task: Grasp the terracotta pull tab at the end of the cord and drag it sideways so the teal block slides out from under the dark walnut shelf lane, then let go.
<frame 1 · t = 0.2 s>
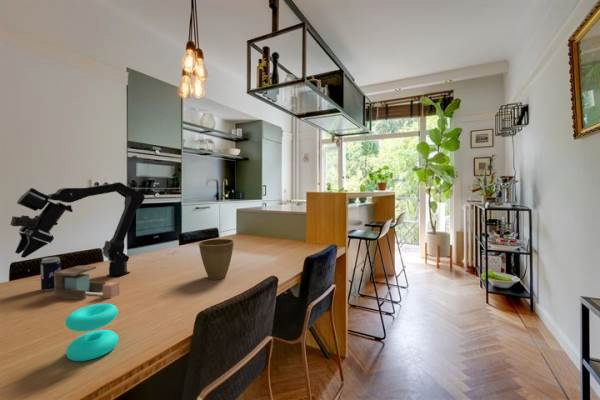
hand: (19, 255, 97), 15 cm above the table, tool tilted 30°, fingers open, 9 cm apart
shelf lane: (77, 293, 101), on the table
plant pot: (216, 277, 121), on the table
tethered block: (77, 293, 101), on the table
beverage can: (51, 289, 105), on the table
donuts: (93, 351, 65), on the table
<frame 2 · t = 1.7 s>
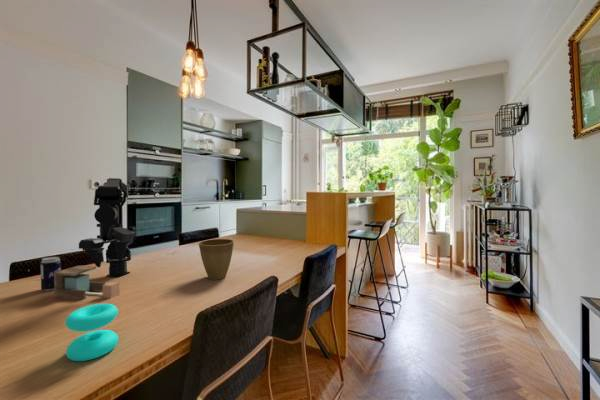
hand: (110, 263, 98), 12 cm above the table, tool pointing down, fingers open, 9 cm apart
nothing on the table moved.
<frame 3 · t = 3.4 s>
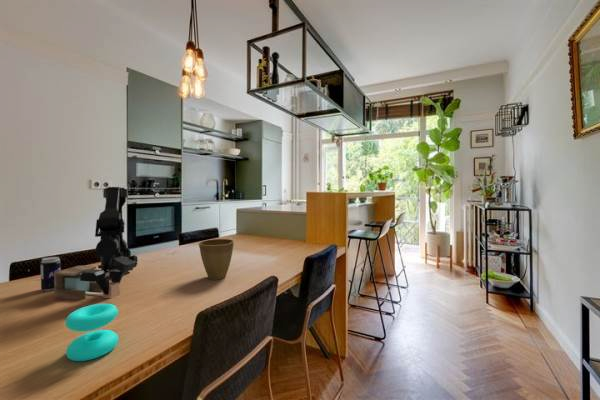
hand: (111, 292, 99), 1 cm above the table, tool pointing down, fingers closed on tethered block, 3 cm apart
tethered block: (77, 293, 101), on the table, touching gripper
everything else where it was.
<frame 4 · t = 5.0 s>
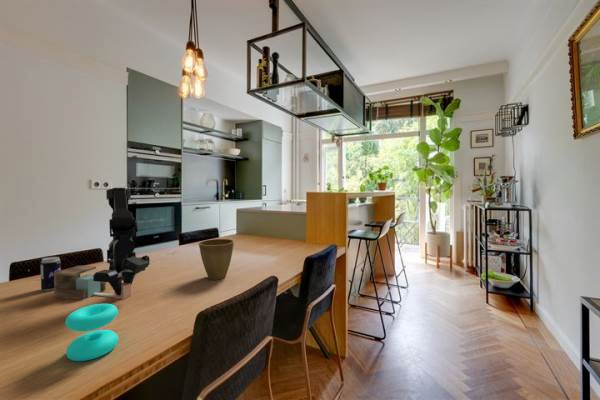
hand: (123, 293, 98), 1 cm above the table, tool pointing down, fingers closed on tethered block, 3 cm apart
tethered block: (88, 294, 100), on the table, touching gripper
everything else where it was.
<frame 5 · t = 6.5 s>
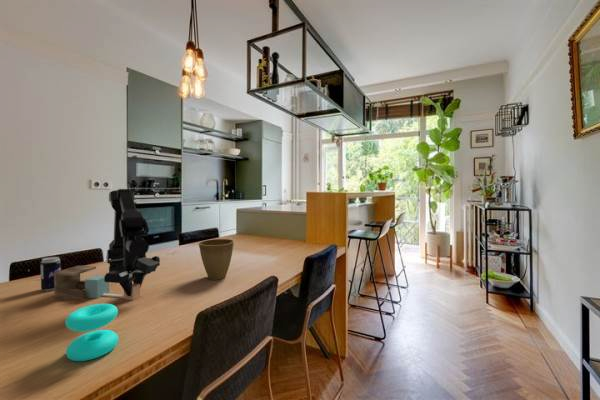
hand: (133, 293, 97), 1 cm above the table, tool pointing down, fingers closed on tethered block, 3 cm apart
tethered block: (97, 295, 99), on the table, touching gripper
everything else where it was.
when the fingers open (1 cm above the table, at t = 6.9 s): tethered block stays where it is, on the table.
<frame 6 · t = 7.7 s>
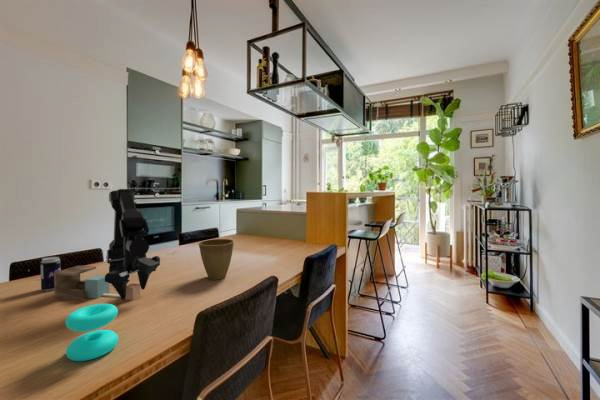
hand: (133, 293, 97), 1 cm above the table, tool pointing down, fingers open, 9 cm apart
tethered block: (97, 295, 99), on the table
everything else where it was.
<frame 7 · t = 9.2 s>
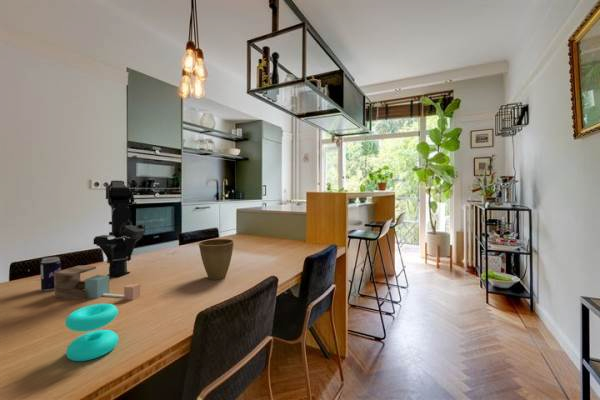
hand: (120, 258, 107), 12 cm above the table, tool pointing down, fingers open, 9 cm apart
nothing on the table moved.
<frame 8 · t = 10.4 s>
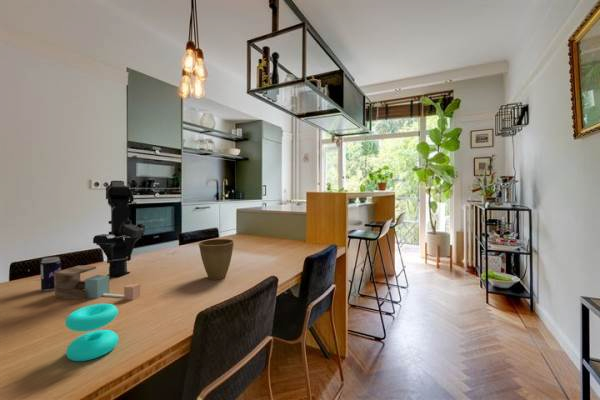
hand: (120, 257, 107), 12 cm above the table, tool pointing down, fingers open, 9 cm apart
nothing on the table moved.
at the end: tethered block inside the target area (2.1 cm from its centre), on the table; tethered block moved 8.7 cm from its start; the gripper is holding nothing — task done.
